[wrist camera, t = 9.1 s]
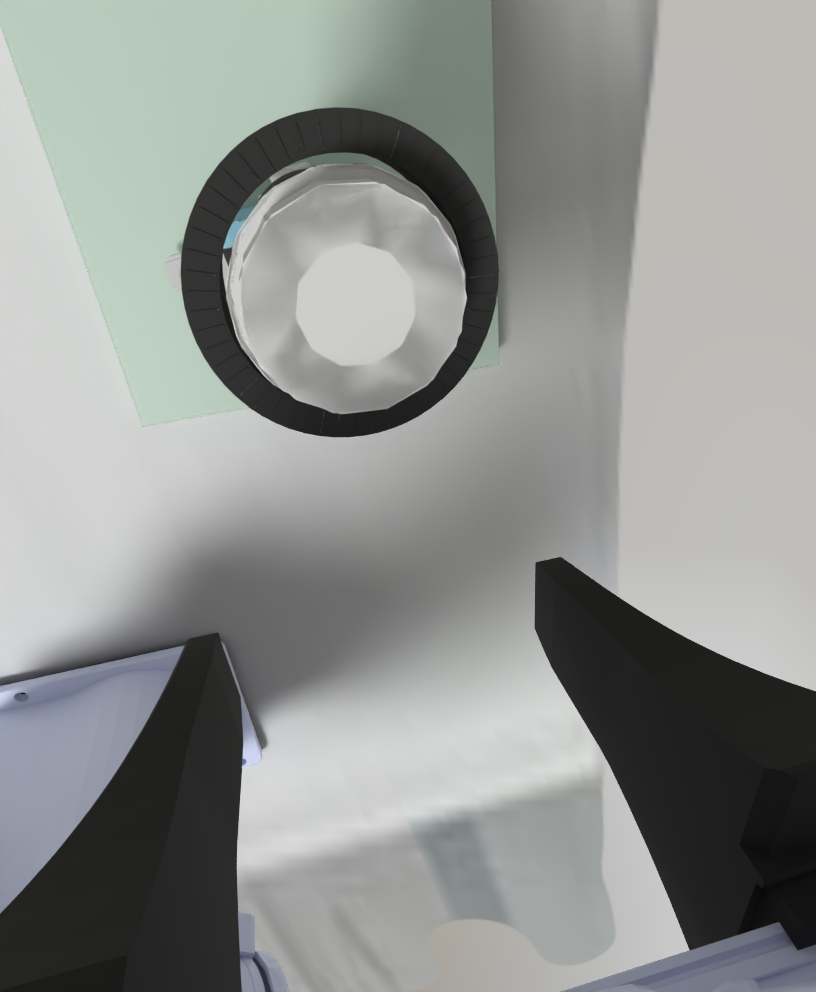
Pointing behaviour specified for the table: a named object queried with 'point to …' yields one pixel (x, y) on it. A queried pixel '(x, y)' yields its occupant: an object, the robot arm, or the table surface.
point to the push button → (338, 273)
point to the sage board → (224, 132)
